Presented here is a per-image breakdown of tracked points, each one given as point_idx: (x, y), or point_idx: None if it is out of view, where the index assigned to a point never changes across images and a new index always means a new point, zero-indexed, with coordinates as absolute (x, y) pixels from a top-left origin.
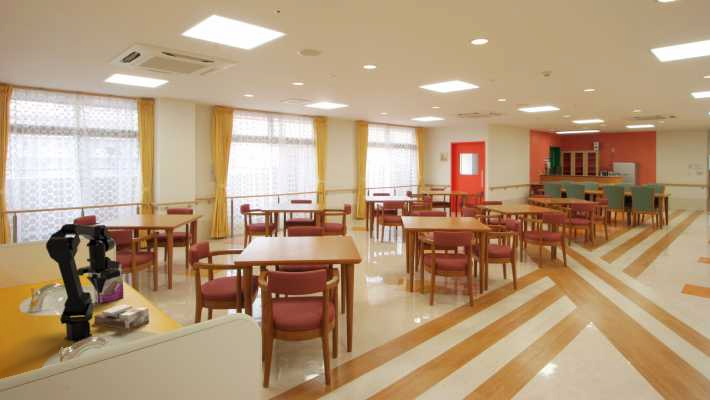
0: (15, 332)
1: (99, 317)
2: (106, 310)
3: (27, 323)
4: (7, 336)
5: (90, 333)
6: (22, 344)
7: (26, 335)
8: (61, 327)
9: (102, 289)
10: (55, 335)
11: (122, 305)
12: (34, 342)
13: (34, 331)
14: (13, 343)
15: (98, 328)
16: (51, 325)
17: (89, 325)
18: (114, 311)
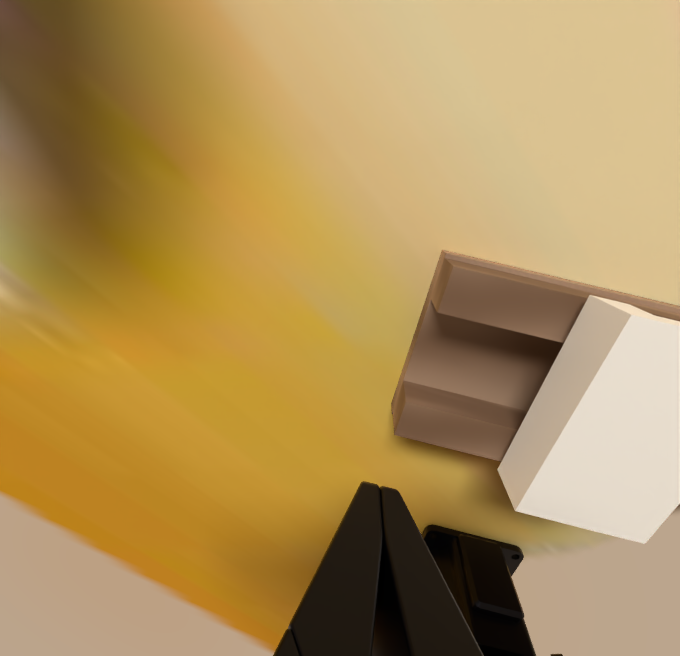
0: (91, 523)
1: (454, 447)
2: (549, 495)
3: (3, 433)
4: (111, 556)
5: (508, 550)
6: (263, 611)
7: (178, 547)
8: (242, 466)
9: (423, 546)
10: (314, 546)
11: (654, 357)
12: (293, 599)
13: (161, 512)
14: (217, 604)
15: (484, 467)
16: (157, 447)
17: (515, 593)
18: (656, 514)
